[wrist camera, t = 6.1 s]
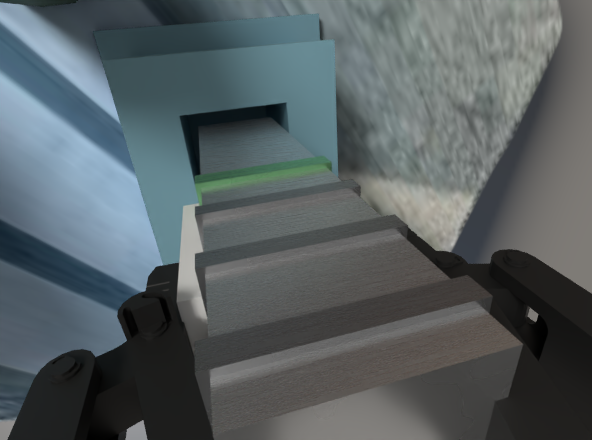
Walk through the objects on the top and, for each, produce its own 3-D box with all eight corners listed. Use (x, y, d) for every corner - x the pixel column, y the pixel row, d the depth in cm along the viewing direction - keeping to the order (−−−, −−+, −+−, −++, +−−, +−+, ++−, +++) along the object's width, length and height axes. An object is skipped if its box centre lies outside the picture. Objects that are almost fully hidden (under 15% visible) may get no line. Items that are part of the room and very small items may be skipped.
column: (209, 197, 26) (250, 596, 7) (194, 123, 24) (194, 430, 5) (280, 185, 27) (483, 507, 8) (272, 113, 25) (536, 331, 6)
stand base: (155, 232, 36) (115, 420, 18) (95, 31, 28) (-92, -1, 10) (324, 201, 39) (436, 333, 21) (315, 14, 31) (484, -34, 13)
